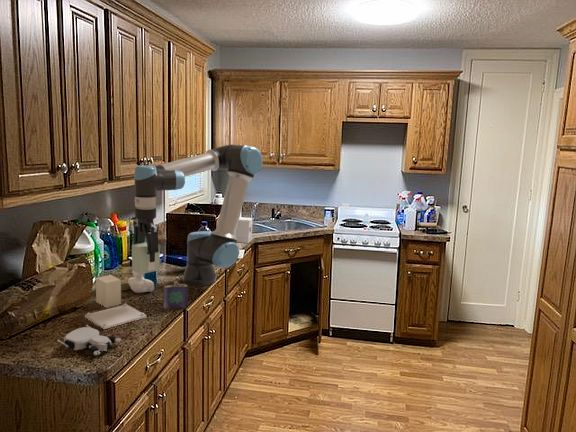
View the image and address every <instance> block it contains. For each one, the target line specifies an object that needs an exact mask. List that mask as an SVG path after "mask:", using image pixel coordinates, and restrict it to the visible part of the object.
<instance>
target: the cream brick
mask: <svg viewBox="0 0 576 432" xmlns="http://www.w3.org/2000/svg"><path fill="white" fill-rule="evenodd" d="M95 302H96V303H97V304H98V303H99V305H100V304H101V305H100V306H102V305H103V306H104V307H103V306H102V307H103V308H105V307H109V308H111V307H110V306H113V307H115V306H114V305H117V306H119V305H118V304H121V305H122V279H120V278H118V277H116V276H114V275H112V274H107V275H104V276H98V277H95Z"/></svg>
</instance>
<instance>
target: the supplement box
mask: <svg viewBox="0 0 576 432" xmlns="http://www.w3.org/2000/svg"><path fill="white" fill-rule="evenodd" d="M253 221H254V220H253V217H244V216H240V217H239V221H238V225H237V228H236V232H235V236H236V238H237V242H236V243H242V244H249V243H251V242H252V240H253V239H252V237H253Z"/></svg>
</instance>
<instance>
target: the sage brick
mask: <svg viewBox="0 0 576 432" xmlns="http://www.w3.org/2000/svg"><path fill="white" fill-rule="evenodd" d="M160 248H161V245H160V244H159V252H157V253H155V269H154V270H150V271H148V270H147V253H149V252H148V247H147V241H144V243H139V244H134V243H133V244H131V270H132V271H135V272H137V273H139V274H144V273H145V274H149V273H153V272H156V271H160V270H161V269H160V266H161V265H160V263H161V262H160V260H161V257H160V256H161V255H160V254H161V253H160V252H161V251H160V250H161V249H160ZM145 274H144V275H145Z"/></svg>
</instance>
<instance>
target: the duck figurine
mask: <svg viewBox="0 0 576 432" xmlns="http://www.w3.org/2000/svg"><path fill="white" fill-rule="evenodd" d="M144 275H146V273H144V274H139V273H137V272H135V271H132V276H131V277H129V278H128V280H127V281H128V282H127V284H128V286H129V287H130V290H132V291H133V292H134V293H136V294H142V293H146V292H153V291H154V289H155V284H154V281H152V280H150V279H146V278H145V277H144Z"/></svg>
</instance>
